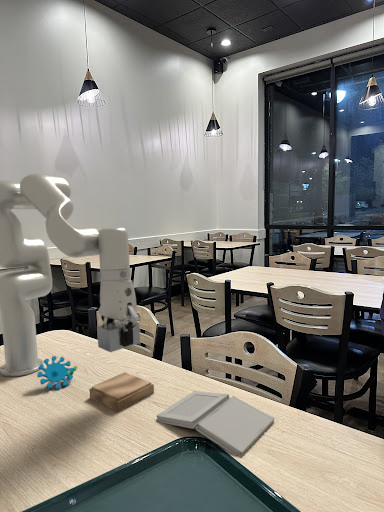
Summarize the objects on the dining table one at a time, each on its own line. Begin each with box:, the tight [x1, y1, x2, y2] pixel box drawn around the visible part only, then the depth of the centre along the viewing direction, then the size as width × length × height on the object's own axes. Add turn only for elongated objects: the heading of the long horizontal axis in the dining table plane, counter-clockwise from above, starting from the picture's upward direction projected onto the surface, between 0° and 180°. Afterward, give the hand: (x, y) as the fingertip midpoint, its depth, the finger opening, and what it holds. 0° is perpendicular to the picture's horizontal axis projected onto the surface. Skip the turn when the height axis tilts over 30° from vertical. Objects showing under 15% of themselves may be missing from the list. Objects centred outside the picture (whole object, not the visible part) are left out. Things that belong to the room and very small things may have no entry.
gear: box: [37, 355, 78, 390], centre depth 103 cm, size 11×6×10 cm
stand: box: [88, 372, 155, 413], centre depth 94 cm, size 12×12×3 cm
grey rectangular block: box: [96, 320, 141, 353], centre depth 93 cm, size 9×6×6 cm, turn 134°
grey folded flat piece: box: [156, 390, 275, 457], centre depth 81 cm, size 23×15×4 cm, turn 52°
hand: (119, 342), depth 93 cm, fingers closed on grey rectangular block, 6 cm apart
